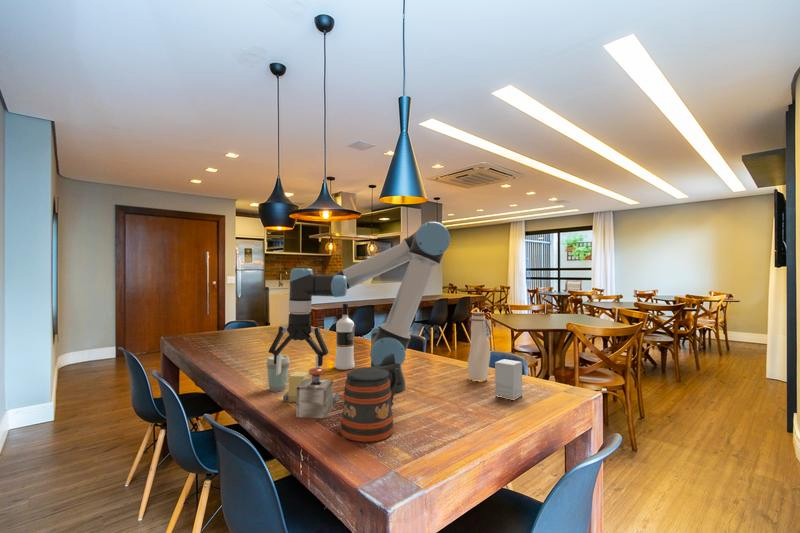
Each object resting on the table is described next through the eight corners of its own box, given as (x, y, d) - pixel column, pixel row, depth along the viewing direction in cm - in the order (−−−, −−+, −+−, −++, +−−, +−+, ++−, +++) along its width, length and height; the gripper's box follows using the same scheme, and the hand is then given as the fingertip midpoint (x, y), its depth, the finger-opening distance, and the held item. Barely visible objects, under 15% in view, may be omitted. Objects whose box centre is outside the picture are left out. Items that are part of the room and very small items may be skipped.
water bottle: (495, 379, 162) (495, 312, 162) (487, 384, 154) (488, 314, 155) (472, 375, 167) (472, 311, 168) (464, 380, 159) (464, 312, 160)
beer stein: (374, 413, 120) (375, 349, 120) (413, 425, 111) (413, 355, 111) (329, 433, 104) (330, 359, 105) (369, 448, 96) (370, 367, 96)
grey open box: (332, 407, 125) (333, 379, 125) (325, 418, 116) (326, 387, 116) (305, 407, 125) (305, 379, 125) (296, 417, 116) (296, 387, 116)
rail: (338, 398, 134) (339, 392, 134) (335, 403, 129) (335, 397, 129) (288, 397, 135) (288, 391, 135) (283, 401, 130) (283, 395, 130)
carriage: (308, 396, 135) (308, 372, 135) (303, 401, 129) (303, 376, 129) (294, 396, 135) (294, 371, 136) (288, 401, 129) (288, 376, 130)
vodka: (338, 365, 184) (339, 302, 185) (357, 366, 183) (357, 302, 183) (331, 369, 175) (332, 303, 176) (351, 370, 173) (351, 304, 174)
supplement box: (523, 397, 138) (523, 361, 139) (513, 401, 133) (513, 364, 133) (504, 392, 143) (504, 358, 144) (494, 396, 138) (494, 361, 138)
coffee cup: (282, 393, 139) (283, 360, 139) (261, 392, 141) (261, 359, 141) (293, 387, 147) (294, 355, 148) (273, 385, 149) (273, 354, 149)
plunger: (323, 385, 122) (323, 368, 123) (320, 388, 118) (320, 371, 119) (311, 384, 123) (311, 367, 123) (307, 388, 119) (307, 371, 119)
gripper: (338, 313, 136) (336, 373, 136) (269, 310, 138) (266, 370, 137) (333, 315, 129) (331, 379, 128) (260, 312, 130) (257, 375, 129)
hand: (297, 374), depth 132 cm, fingers open, 13 cm apart
